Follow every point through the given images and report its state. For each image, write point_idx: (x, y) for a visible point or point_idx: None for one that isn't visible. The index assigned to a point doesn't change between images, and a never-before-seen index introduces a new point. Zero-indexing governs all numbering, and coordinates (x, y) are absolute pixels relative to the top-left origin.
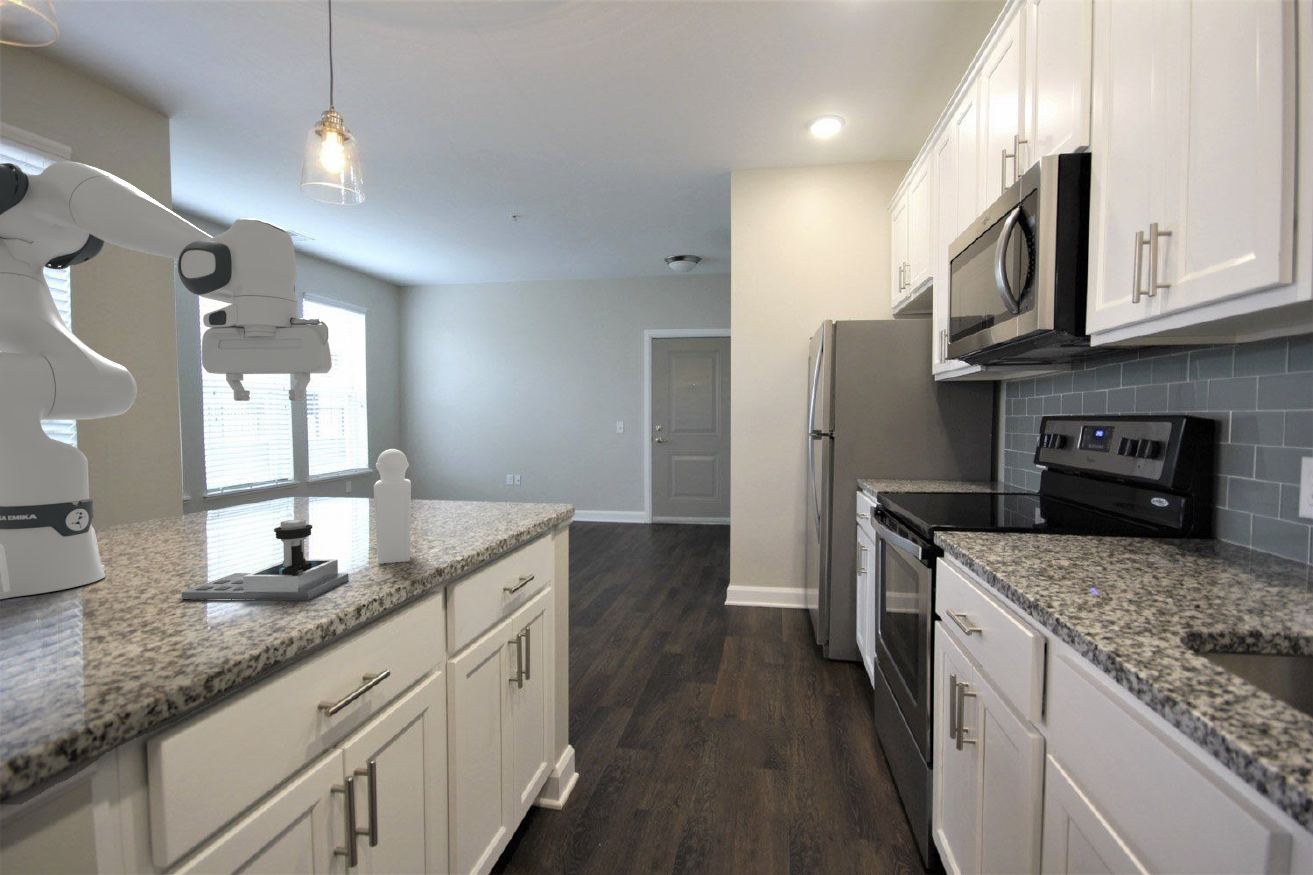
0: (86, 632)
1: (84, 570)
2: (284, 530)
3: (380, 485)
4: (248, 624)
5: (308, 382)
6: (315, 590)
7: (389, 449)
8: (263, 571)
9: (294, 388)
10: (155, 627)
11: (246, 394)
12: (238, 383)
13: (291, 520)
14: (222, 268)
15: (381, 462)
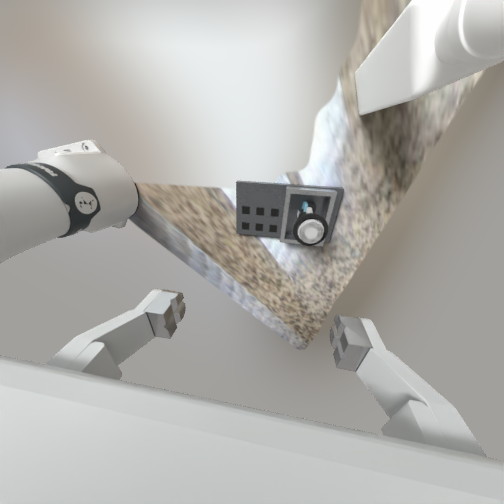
0: (233, 277)
1: (126, 192)
2: (308, 245)
3: (430, 91)
4: (310, 276)
5: (434, 392)
6: (330, 234)
7: None
8: (285, 227)
9: (362, 378)
10: (262, 274)
11: (173, 314)
12: (118, 341)
13: (306, 228)
14: None
15: (480, 50)
